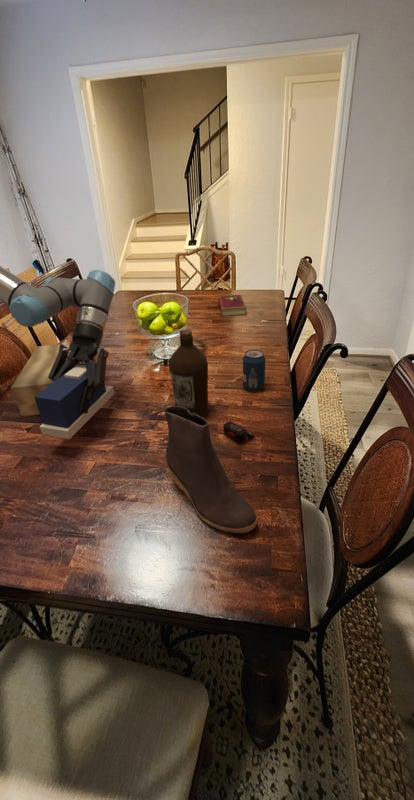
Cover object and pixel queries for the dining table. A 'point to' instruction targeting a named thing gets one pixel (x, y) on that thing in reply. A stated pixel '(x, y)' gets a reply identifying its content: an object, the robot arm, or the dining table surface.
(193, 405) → the olive oil
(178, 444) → the boot
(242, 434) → the wireless earbuds
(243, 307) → the hardcover book
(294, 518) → the dining table surface
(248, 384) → the soda can
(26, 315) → the robot arm
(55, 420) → the navy block on base
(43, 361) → the tan long block
